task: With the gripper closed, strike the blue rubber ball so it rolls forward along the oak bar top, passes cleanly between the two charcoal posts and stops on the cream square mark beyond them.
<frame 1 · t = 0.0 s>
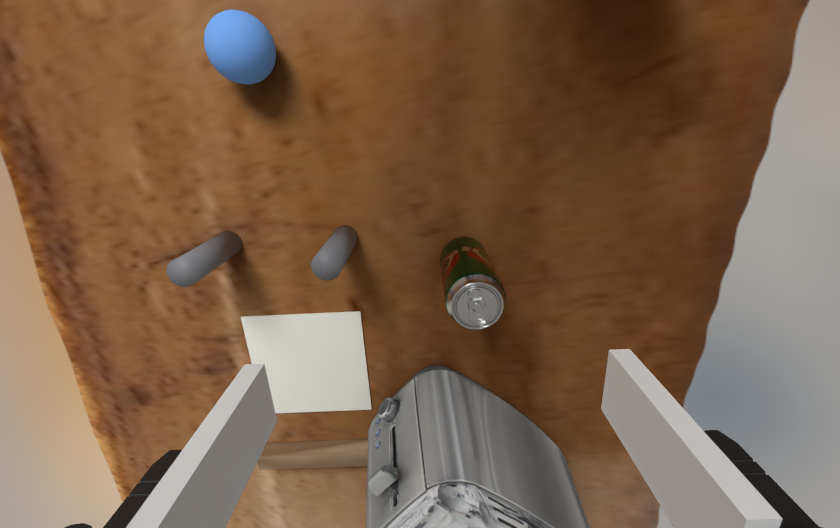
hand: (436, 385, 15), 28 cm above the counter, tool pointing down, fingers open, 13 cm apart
post 2: (345, 237, 42), on the counter
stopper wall: (324, 446, 52), on the counter
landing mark: (309, 364, 48), on the counter
soda can: (462, 257, 43), on the counter
ball: (241, 48, 33), on the counter
post 1: (229, 242, 42), on the counter
toaster: (473, 439, 52), on the counter
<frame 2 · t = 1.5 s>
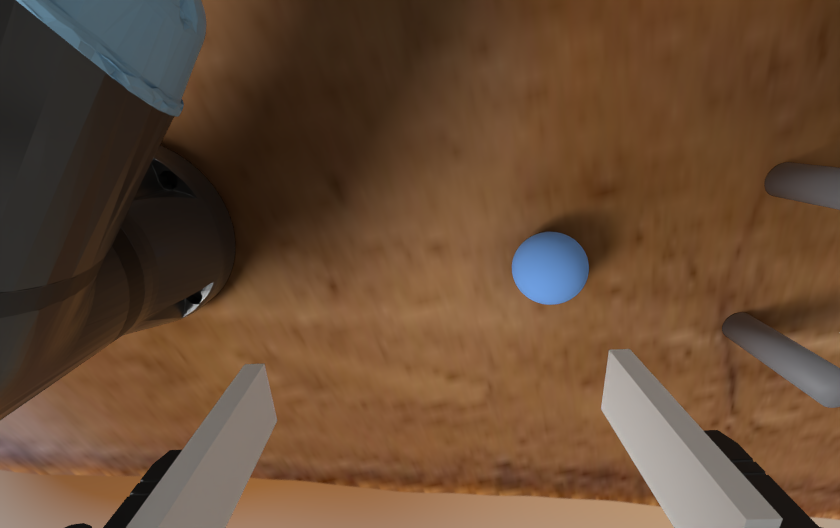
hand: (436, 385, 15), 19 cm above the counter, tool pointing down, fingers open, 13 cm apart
post 2: (782, 179, 30), on the counter
ball: (549, 268, 30), on the counter
post 1: (737, 325, 34), on the counter
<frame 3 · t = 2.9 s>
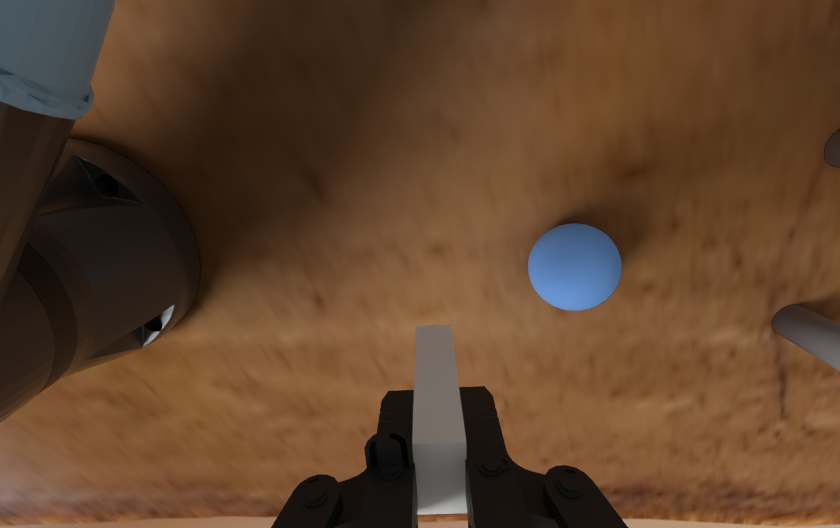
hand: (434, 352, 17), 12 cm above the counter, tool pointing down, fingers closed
ball: (572, 266, 25), on the counter
post 1: (789, 319, 30), on the counter
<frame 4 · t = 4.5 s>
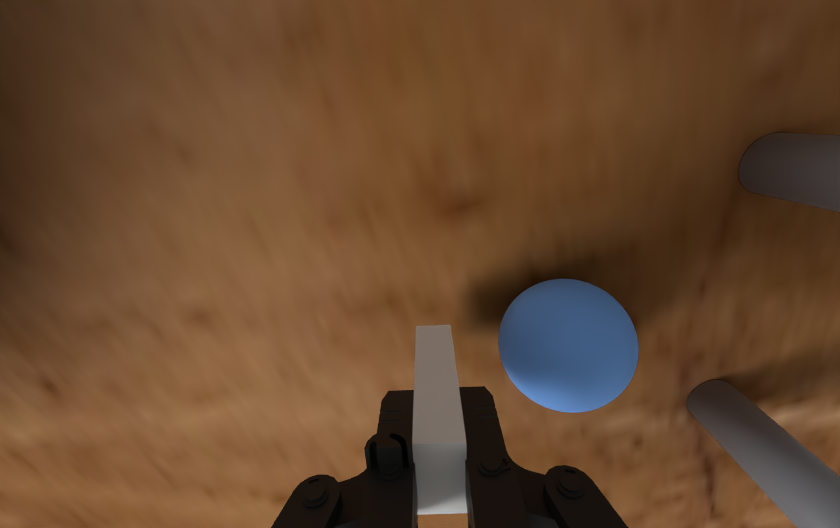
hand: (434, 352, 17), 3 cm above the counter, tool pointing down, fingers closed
post 2: (769, 163, 17), on the counter
ball: (564, 343, 17), on the counter
post 1: (710, 399, 21), on the counter
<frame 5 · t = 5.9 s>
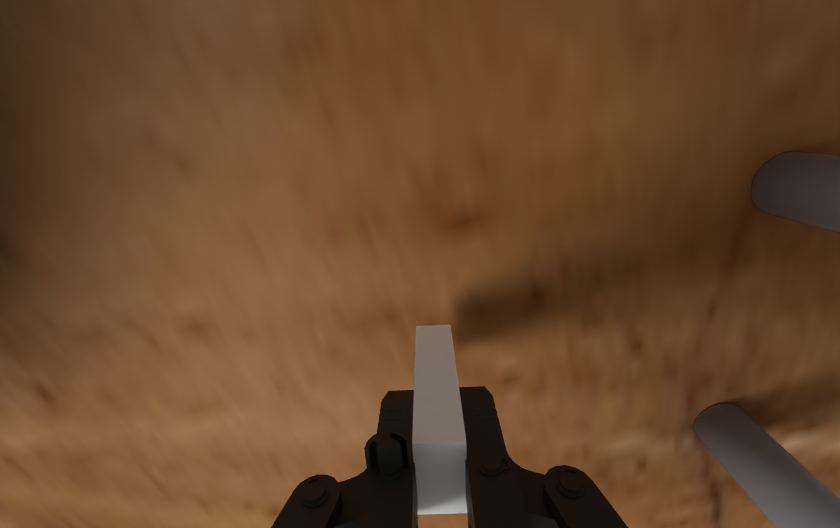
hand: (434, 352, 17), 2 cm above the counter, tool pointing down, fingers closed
post 2: (783, 183, 16), on the counter
post 1: (718, 423, 21), on the counter
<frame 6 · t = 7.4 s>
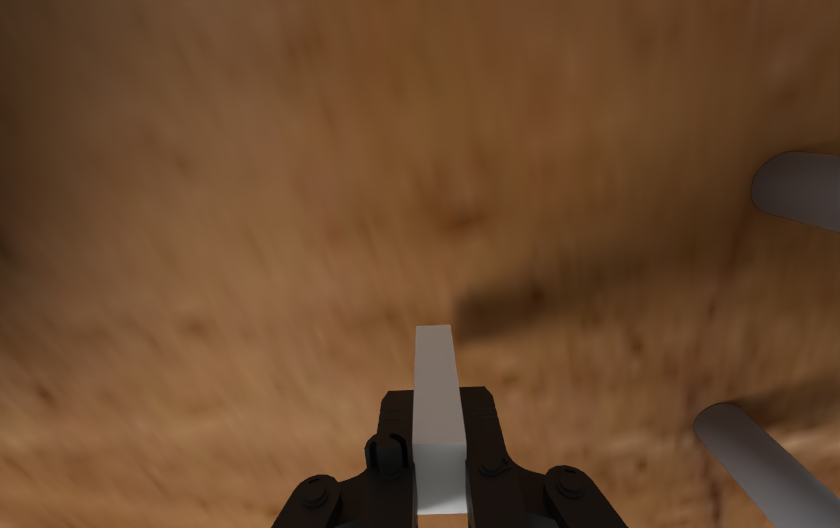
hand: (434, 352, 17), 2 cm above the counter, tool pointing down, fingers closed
post 2: (783, 183, 16), on the counter
post 1: (718, 423, 21), on the counter
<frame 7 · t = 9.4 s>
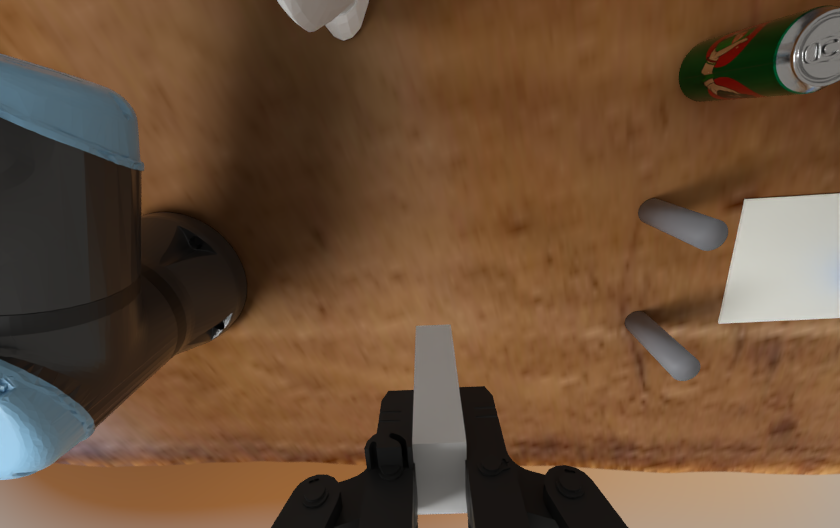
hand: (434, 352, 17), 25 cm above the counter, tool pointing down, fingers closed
post 2: (651, 211, 40), on the counter
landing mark: (799, 260, 41), on the counter
soda can: (702, 72, 35), on the counter
post 1: (636, 321, 44), on the counter
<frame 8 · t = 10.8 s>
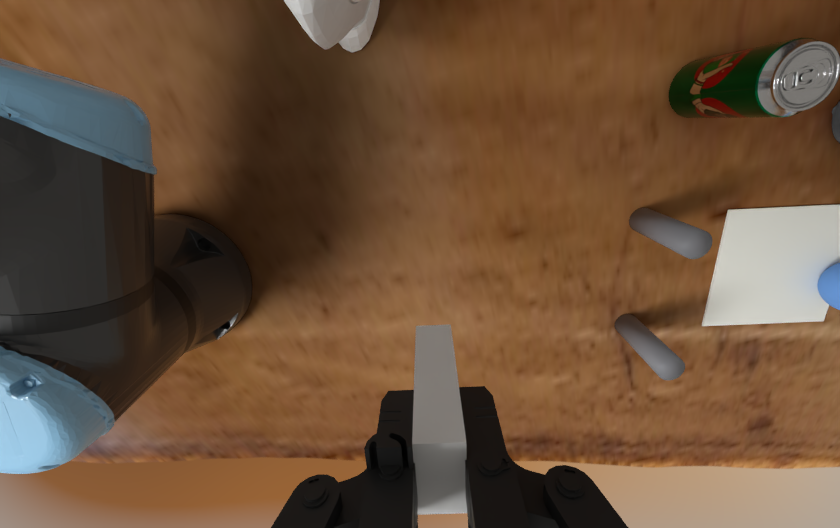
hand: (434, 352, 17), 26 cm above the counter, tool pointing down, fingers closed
post 2: (641, 219, 42), on the counter
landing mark: (777, 267, 44), on the counter
soda can: (690, 90, 38), on the counter
post 1: (625, 323, 46), on the counter
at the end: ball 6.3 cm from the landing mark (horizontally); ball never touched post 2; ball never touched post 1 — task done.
